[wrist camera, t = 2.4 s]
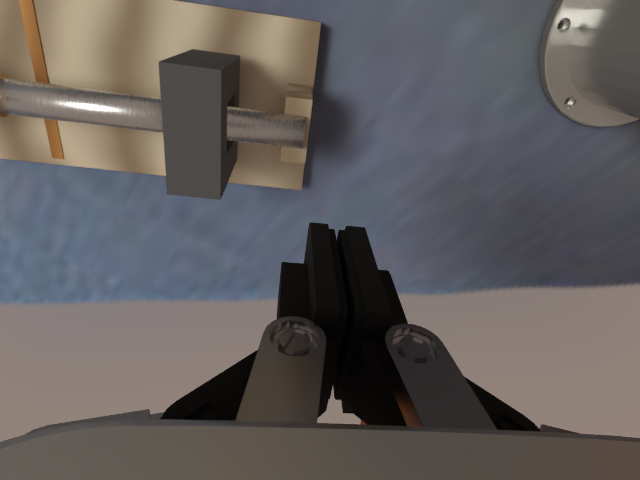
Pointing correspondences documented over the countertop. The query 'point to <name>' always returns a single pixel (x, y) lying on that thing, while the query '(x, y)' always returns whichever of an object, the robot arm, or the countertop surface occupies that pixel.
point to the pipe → (137, 112)
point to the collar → (198, 121)
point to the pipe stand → (152, 76)
